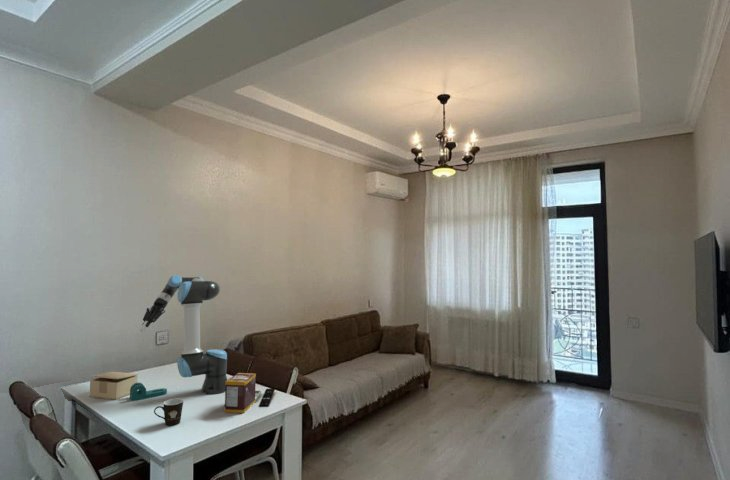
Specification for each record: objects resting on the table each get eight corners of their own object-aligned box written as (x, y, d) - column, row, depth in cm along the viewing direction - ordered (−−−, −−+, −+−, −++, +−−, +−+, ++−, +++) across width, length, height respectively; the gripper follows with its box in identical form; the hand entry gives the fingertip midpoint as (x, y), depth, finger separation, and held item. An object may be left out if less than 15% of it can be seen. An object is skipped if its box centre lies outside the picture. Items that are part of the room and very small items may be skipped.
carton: (115, 400, 210) (116, 383, 211) (89, 396, 214) (89, 380, 215) (136, 391, 224) (137, 375, 224) (111, 388, 228) (112, 373, 228)
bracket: (131, 401, 209) (132, 386, 209) (129, 398, 214) (130, 383, 214) (168, 394, 220) (168, 380, 221) (165, 391, 225) (165, 377, 226)
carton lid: (117, 379, 211) (117, 378, 211) (90, 376, 215) (91, 375, 215) (137, 375, 225) (138, 373, 225) (112, 372, 229) (112, 371, 229)
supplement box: (255, 402, 210) (256, 373, 211) (243, 413, 194) (244, 382, 195) (237, 401, 211) (238, 372, 212) (224, 412, 196) (225, 381, 196)
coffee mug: (185, 419, 186) (186, 398, 187) (177, 427, 177) (178, 405, 178) (161, 419, 186) (162, 398, 186) (152, 427, 177) (153, 405, 178)
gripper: (173, 305, 257) (153, 334, 240) (156, 304, 260) (135, 333, 242) (168, 297, 252) (147, 327, 235) (151, 297, 255) (129, 326, 238)
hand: (141, 330), depth 239 cm, fingers closed
